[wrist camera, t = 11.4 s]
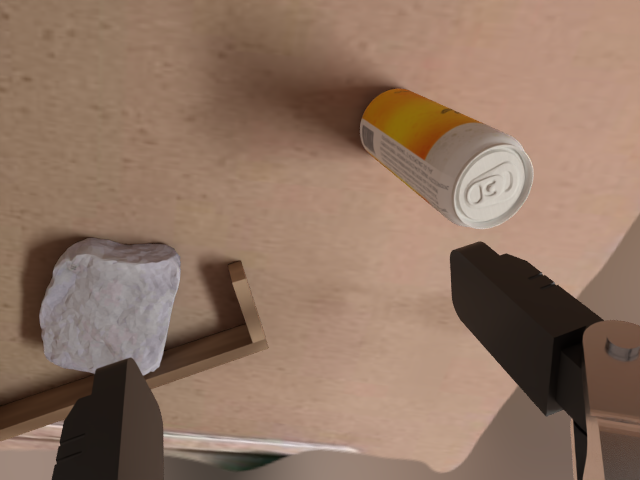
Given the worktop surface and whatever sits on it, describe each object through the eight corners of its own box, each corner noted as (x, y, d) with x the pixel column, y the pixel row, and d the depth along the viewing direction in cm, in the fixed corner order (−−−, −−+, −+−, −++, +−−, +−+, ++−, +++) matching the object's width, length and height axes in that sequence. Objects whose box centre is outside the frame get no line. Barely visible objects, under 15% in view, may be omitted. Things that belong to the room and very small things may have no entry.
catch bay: (-61, 355, 39) (-77, 382, 36) (240, 260, 43) (246, 278, 40) (-8, 420, 43) (-18, 447, 40) (262, 328, 47) (268, 348, 44)
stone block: (52, 337, 43) (166, 356, 45) (28, 371, 39) (155, 391, 41) (65, 216, 39) (190, 243, 41) (40, 239, 35) (180, 268, 37)
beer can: (427, 143, 43) (540, 212, 30) (364, 168, 42) (453, 249, 29) (416, 76, 39) (538, 121, 27) (348, 101, 39) (441, 160, 26)
